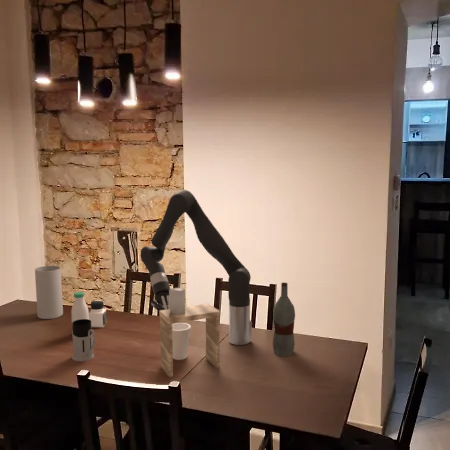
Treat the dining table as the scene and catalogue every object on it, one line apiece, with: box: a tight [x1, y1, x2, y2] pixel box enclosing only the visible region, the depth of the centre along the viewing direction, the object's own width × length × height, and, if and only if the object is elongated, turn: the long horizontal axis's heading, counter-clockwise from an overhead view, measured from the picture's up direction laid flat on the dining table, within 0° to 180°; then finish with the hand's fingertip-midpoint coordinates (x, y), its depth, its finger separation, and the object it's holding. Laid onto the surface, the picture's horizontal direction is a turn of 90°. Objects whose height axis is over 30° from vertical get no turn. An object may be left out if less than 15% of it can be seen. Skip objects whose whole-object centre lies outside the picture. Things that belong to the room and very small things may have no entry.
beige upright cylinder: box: [169, 287, 186, 315], centre depth 195 cm, size 6×6×9 cm
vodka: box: [272, 282, 296, 357], centre depth 213 cm, size 9×9×30 cm
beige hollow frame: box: [158, 303, 221, 378], centre depth 199 cm, size 21×11×23 cm, turn 116°
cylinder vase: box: [34, 265, 64, 320], centre depth 262 cm, size 12×12×25 cm
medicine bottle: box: [88, 299, 108, 328], centre depth 249 cm, size 7×7×12 cm
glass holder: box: [71, 319, 96, 362], centre depth 208 cm, size 9×14×15 cm, turn 45°
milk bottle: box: [70, 291, 89, 333], centre depth 235 cm, size 8×8×20 cm
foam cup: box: [172, 322, 192, 361], centre depth 210 cm, size 10×9×13 cm
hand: (169, 319), depth 219 cm, fingers closed
